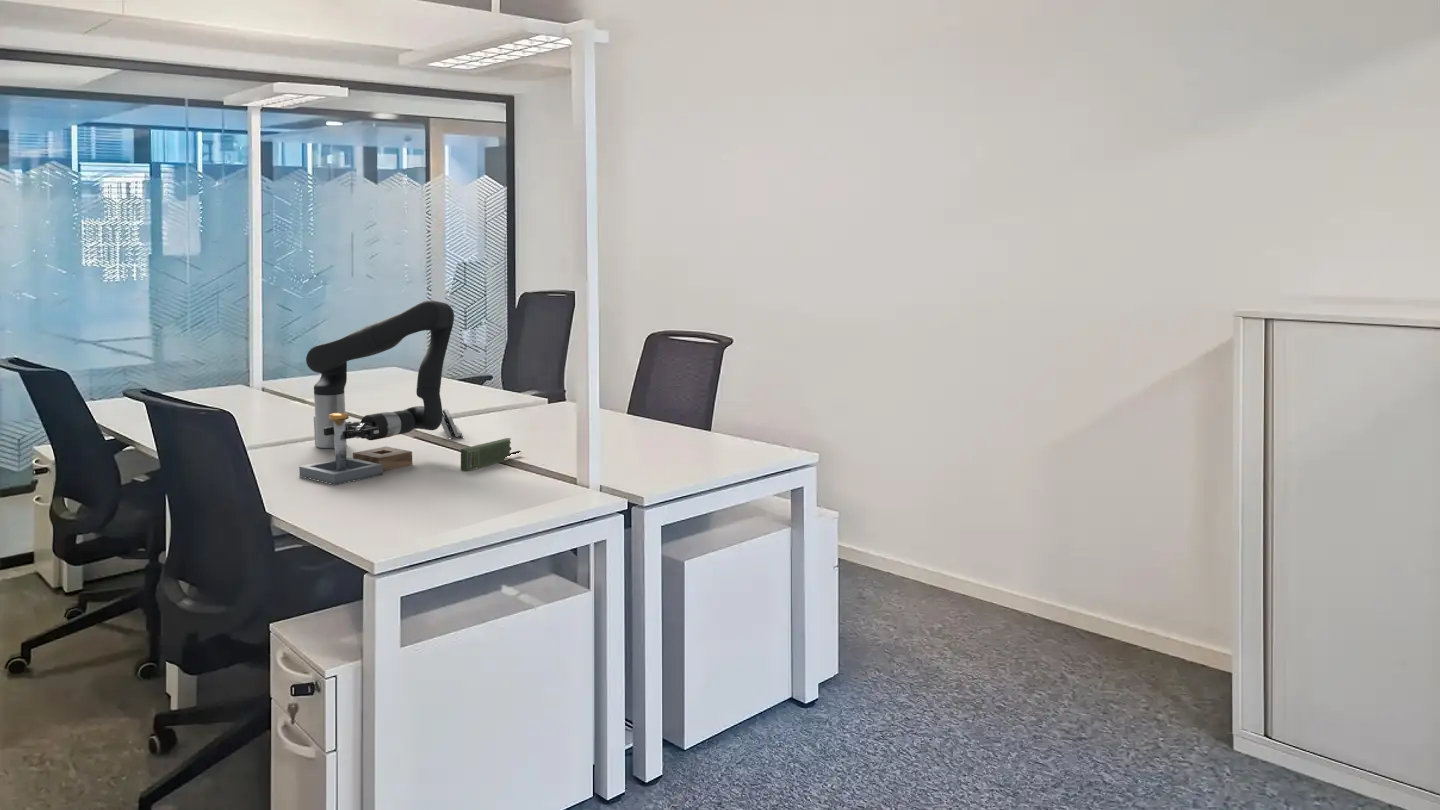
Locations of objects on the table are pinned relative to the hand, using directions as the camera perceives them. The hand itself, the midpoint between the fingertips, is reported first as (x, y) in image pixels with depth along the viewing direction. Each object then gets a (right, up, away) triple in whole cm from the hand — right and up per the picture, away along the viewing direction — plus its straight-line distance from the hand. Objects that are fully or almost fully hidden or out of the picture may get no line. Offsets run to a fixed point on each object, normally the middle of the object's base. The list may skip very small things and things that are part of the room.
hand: (333, 433), depth 302 cm
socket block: (+8, -10, +18) cm, 22 cm away
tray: (+1, -12, +4) cm, 13 cm away
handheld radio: (+40, -10, +23) cm, 47 cm away
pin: (+1, -11, +4) cm, 12 cm away
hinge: (+16, -2, +66) cm, 68 cm away
